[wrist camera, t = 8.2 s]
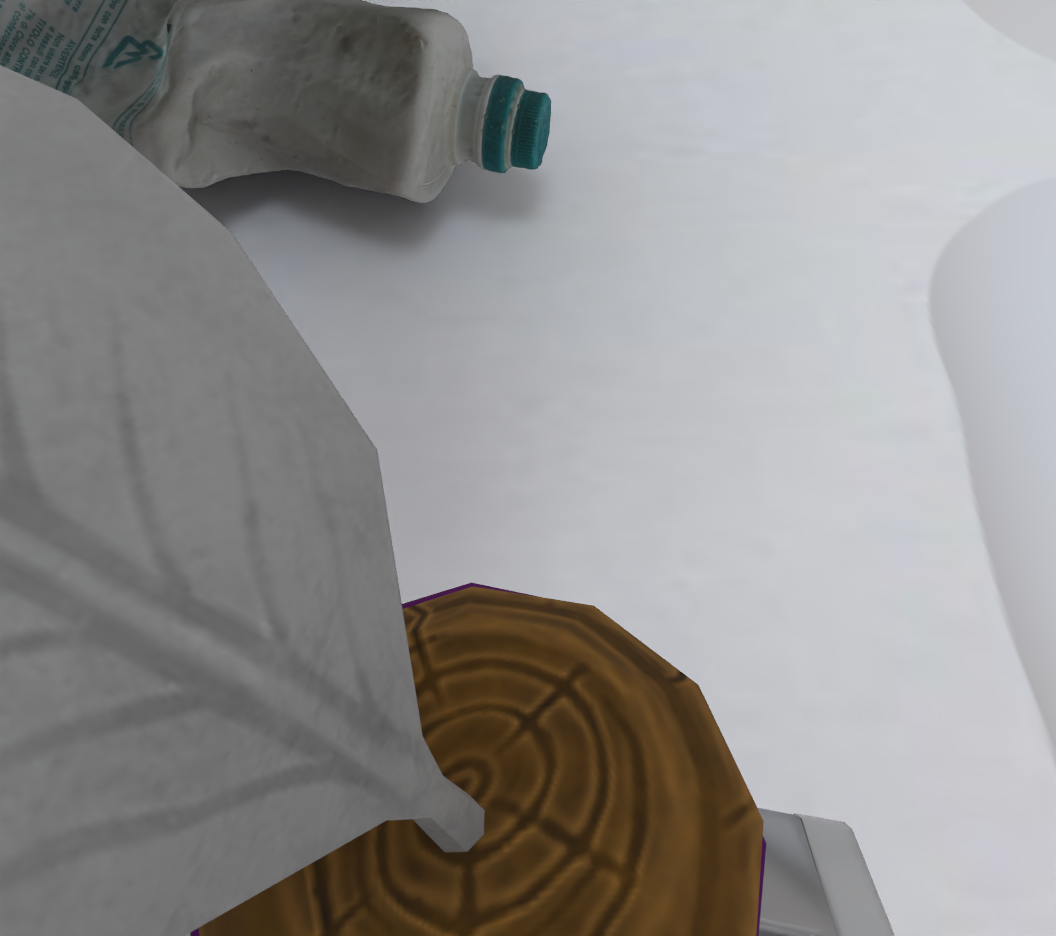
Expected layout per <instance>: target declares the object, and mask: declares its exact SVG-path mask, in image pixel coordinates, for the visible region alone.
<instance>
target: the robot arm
mask: <svg viewBox="0 0 1056 936" xmlns="http://www.w3.org/2000/svg"><path fill="white" fill-rule="evenodd" d="M758 811H759V813H760V815H761V817H762V819H763V821H764V823H763V837H764V839H765V841H766V854H765V866H764V878H763V890H762V902H761V914H760V926H759V936H895V935H894V933H893V930H892V928H891V925H890V923H889V920H888V918H887V915H886V913H885V910H884V908H883V905H882V903H881V900H880V898H879V895H878V893H877V890H876V887H875V885H874V882H873V880H872V877H871V875H870V872H869V870H868V867H867V865H866V862H865V860H864V857H863V855H862V852H861V850H860V847H859V845H858V842H857V840H856V837H855V835H854V832H853V830H852V829H851V828H850V827H849V826H848V825H847V824H846V823H845V822H841V821H835V820H829V819H824V818H818V817H812V816H806V815H801V814H795V813H794V814H793V815H792V814H787V813H782V812H777V811H772V810H767V809H762V808H758ZM185 936H191V935H190V933H188V934H187V935H185Z"/></svg>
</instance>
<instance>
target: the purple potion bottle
mask: <svg viewBox="0 0 1056 936" xmlns="http://www.w3.org/2000/svg"><path fill="white" fill-rule="evenodd" d="M763 823H764V821H763V819H762V817H761V815H760V813H759V811H758V808H757V806H756V804H755V802H754V800H753V798H752V796H751V794H750V792H749V790H748V788H747V785H746V783H745V781H744V779H743V777H742V775H741V773H740V771H739V769H738V767H737V765H736V763H735V760H734V758H733V756H732V754H731V752H730V750H729V748H728V746H727V744H726V742H725V740H724V737H723V735H722V733H721V731H720V729H719V727H718V725H717V723H716V721H715V719H714V717H713V715H712V712H711V710H710V708H709V706H708V704H707V702H706V700H705V698H704V696H703V694H702V692H701V689H700V687H699V685H698V684H696V683H695V682H694V681H692V680H691V679H690V678H688V677H687V676H686V675H684V674H683V673H682V672H680V671H679V670H678V669H676V668H675V667H674V666H673V665H671V664H670V663H669V662H667V661H666V660H665V659H663V658H662V657H661V656H659V655H658V654H657V653H655V652H654V651H653V650H651V649H650V648H649V647H647V646H646V645H645V644H643V643H642V642H641V641H639V640H638V639H637V638H636V637H634V636H633V635H632V634H630V633H629V632H628V631H626V630H625V629H624V628H622V627H621V626H620V625H618V624H617V623H616V622H614V621H613V620H612V619H610V618H609V617H608V616H606V615H605V614H604V613H603V612H601V611H600V610H599V609H597V608H596V607H595V606H592V605H585V604H579V603H573V602H567V601H561V600H554V599H548V598H542V597H538V596H533V595H528V594H523V593H518V592H513V591H509V590H504V589H499V588H494V587H489V586H485V585H480V584H475V583H469V584H466V585H462V586H459V587H456V588H453V589H449V590H446V591H443V592H440V593H436V594H433V595H430V596H427V597H423V598H420V599H417V600H414V601H410V602H407V603H404V604H401V597H400V591H399V585H398V578H397V572H396V566H395V560H394V553H393V547H392V541H391V535H390V528H389V522H388V516H387V510H386V503H385V497H384V491H383V484H382V478H381V472H380V466H379V459H378V453H377V449H376V448H375V446H374V445H373V443H372V442H371V440H370V439H369V437H368V436H367V434H366V433H365V431H364V430H363V428H362V427H361V425H360V424H359V422H358V421H357V419H356V418H355V416H354V415H353V413H352V412H351V410H350V409H349V407H348V406H347V404H346V403H345V401H344V400H343V398H342V397H341V395H340V394H339V392H338V391H337V389H336V388H335V386H334V385H333V383H332V382H331V380H330V379H329V377H328V376H327V374H326V373H325V372H324V370H323V369H322V367H321V366H320V364H319V363H318V361H317V360H316V358H315V357H314V355H313V354H312V352H311V351H310V349H309V348H308V346H307V345H306V343H305V342H304V340H303V339H302V337H301V336H300V334H299V333H298V331H297V330H296V328H295V327H294V325H293V324H292V322H291V321H290V319H289V318H288V316H287V315H286V313H285V312H284V310H283V309H282V307H281V306H280V304H279V303H278V301H277V300H276V298H275V297H274V295H273V294H272V292H271V291H270V289H269V288H268V286H267V285H266V283H265V282H264V280H263V279H262V277H261V276H260V274H259V273H258V271H257V270H256V268H255V267H254V265H253V264H252V262H251V261H250V259H249V258H248V256H247V255H246V253H245V252H244V250H243V249H242V247H241V246H240V244H239V243H238V241H237V240H236V238H235V237H234V235H233V234H232V232H231V231H229V230H228V229H227V228H226V227H225V226H224V225H222V224H221V223H220V222H219V221H218V220H217V219H216V218H214V217H213V216H212V215H211V214H210V213H209V212H207V211H206V210H205V209H204V208H203V207H202V206H201V205H199V204H198V203H197V202H196V201H195V200H194V199H192V198H191V197H190V196H189V195H188V194H187V193H185V192H184V191H183V190H182V189H181V188H180V187H179V186H177V185H176V184H175V183H174V182H173V181H172V180H170V179H169V178H168V177H167V176H166V175H165V174H163V173H162V172H161V171H160V170H159V169H158V168H157V167H155V166H154V165H153V164H152V163H151V162H150V161H148V160H147V159H146V158H145V157H144V156H143V155H142V154H140V153H139V152H138V151H137V150H136V149H135V148H133V147H132V146H131V145H130V144H129V143H128V142H126V141H125V140H124V139H123V138H122V137H121V136H120V135H118V134H117V133H116V132H115V131H114V130H113V129H111V128H110V127H109V126H108V125H107V124H106V123H104V122H103V121H102V120H101V119H100V118H99V117H98V116H96V115H95V114H94V113H93V112H92V111H91V110H89V109H88V108H87V107H86V106H85V105H84V104H83V103H81V102H80V101H79V100H78V99H76V98H74V97H72V96H69V95H67V94H65V93H62V92H60V91H58V90H56V89H53V88H51V87H49V86H46V85H44V84H42V83H40V82H37V81H35V80H33V79H30V78H28V77H26V76H24V75H21V74H19V73H17V72H14V71H12V70H10V69H8V68H5V67H3V66H1V65H0V936H185V935H187V934H188V933H190V935H191V936H759V926H760V914H761V902H762V890H763V878H764V866H765V854H766V841H765V839H764V837H763Z"/></svg>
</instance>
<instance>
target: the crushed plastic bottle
mask: <svg viewBox="0 0 1056 936" xmlns="http://www.w3.org/2000/svg"><path fill="white" fill-rule="evenodd" d="M0 65H1V66H3V67H5V68H8V69H10V70H12V71H14V72H17V73H19V74H21V75H24V76H26V77H28V78H30V79H33V80H35V81H37V82H40V83H42V84H44V85H46V86H49V87H51V88H53V89H56V90H58V91H60V92H62V93H65V94H67V95H69V96H72V97H74V98H76V99H78V100H79V101H80V102H81V103H83V104H84V105H85V106H86V107H87V108H88V109H89V110H91V111H92V112H93V113H94V114H95V115H96V116H98V117H99V118H100V119H101V120H102V121H103V122H104V123H106V124H107V125H108V126H109V127H110V128H111V129H113V130H114V131H115V132H116V133H117V134H118V135H120V136H121V137H122V138H123V139H124V140H125V141H126V142H128V143H129V144H130V145H131V146H132V147H133V148H135V149H136V150H137V151H138V152H139V153H140V154H142V155H143V156H144V157H145V158H146V159H147V160H148V161H150V162H151V163H152V164H153V165H154V166H155V167H157V168H158V169H159V170H160V171H161V172H162V173H163V174H165V175H166V176H167V177H168V178H169V179H170V180H172V181H173V182H174V183H175V184H176V185H177V186H179V187H184V188H204V187H207V186H210V185H212V184H213V183H215V182H218V181H222V180H224V179H226V178H230V177H236V176H241V175H249V174H254V173H262V172H272V171H281V170H293V171H301V172H304V173H307V174H312V175H315V176H319V177H321V178H326V179H329V180H332V181H335V182H337V183H339V184H341V185H344V186H348V187H356V188H359V189H363V190H368V191H373V192H379V193H387V194H389V195H396V196H399V197H403V198H405V199H407V200H410V201H413V202H417V203H427V202H430V201H432V200H434V199H435V198H436V197H437V196H438V195H439V194H440V192H441V191H442V189H443V188H444V186H445V185H446V183H447V182H448V180H449V178H450V177H451V175H452V173H453V171H454V169H455V167H456V165H461V164H463V163H464V162H465V161H467V160H470V161H473V162H475V163H477V164H478V166H479V167H480V168H481V169H485V170H489V171H493V172H498V173H505V172H506V171H507V169H508V168H510V167H511V166H515V167H519V168H526V169H532V170H534V169H537V168H538V167H539V166H540V165H541V163H542V158H543V155H544V152H545V150H546V147H547V142H548V136H549V128H550V116H551V100H550V98H549V97H548V94H546V93H539V92H534V91H528V90H526V89H525V88H524V85H523V82H522V81H521V80H520V79H517V78H512V77H508V76H502V75H495V76H494V77H492V78H482V77H479V75H478V73H477V71H475V70H474V69H473V64H472V53H471V49H470V45H469V39H468V35H467V33H466V31H465V29H464V27H463V26H462V25H461V23H460V22H459V21H458V20H456V19H455V18H453V17H452V16H450V15H449V14H448V13H445V12H441V11H438V10H435V9H420V8H406V7H387V6H382V5H376V4H372V3H369V2H366V1H362V0H0Z"/></svg>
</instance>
